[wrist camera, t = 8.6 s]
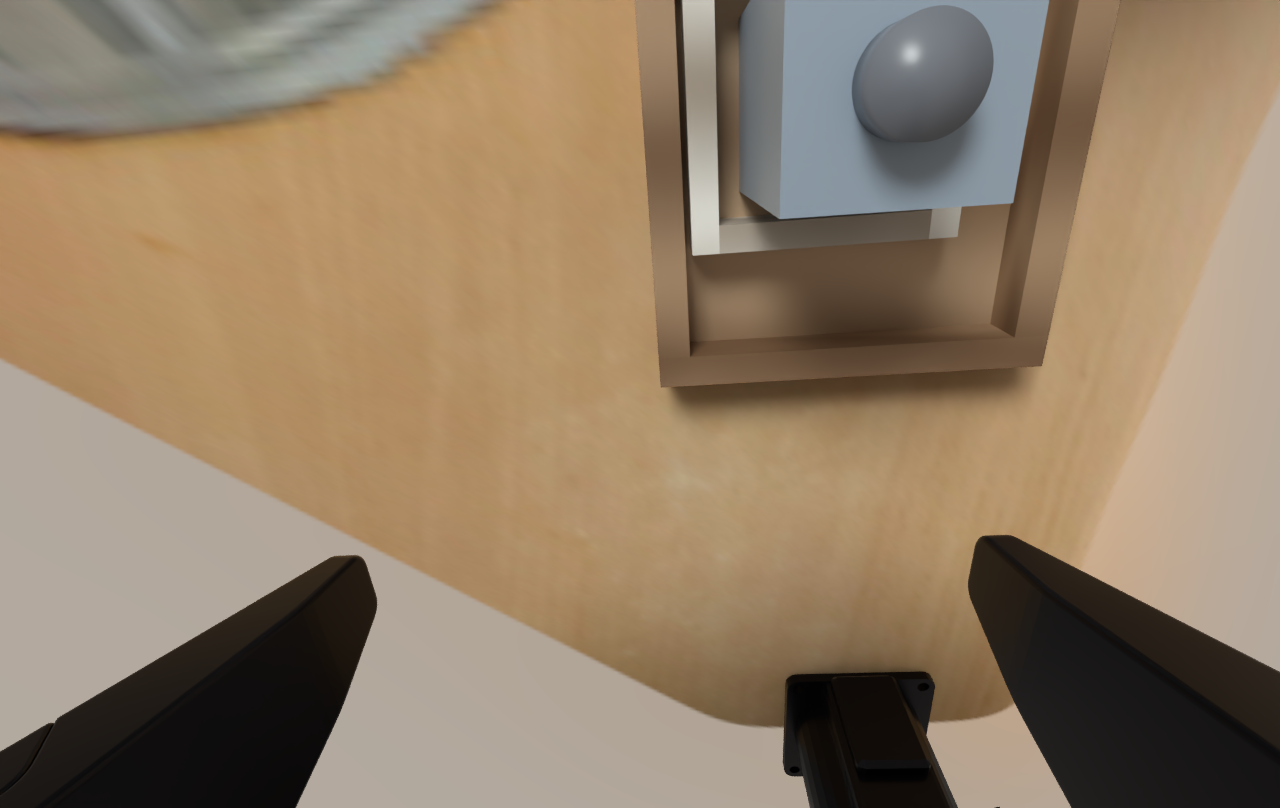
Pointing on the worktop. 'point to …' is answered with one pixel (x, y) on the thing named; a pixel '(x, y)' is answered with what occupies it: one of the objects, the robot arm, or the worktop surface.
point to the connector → (884, 103)
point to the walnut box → (849, 227)
